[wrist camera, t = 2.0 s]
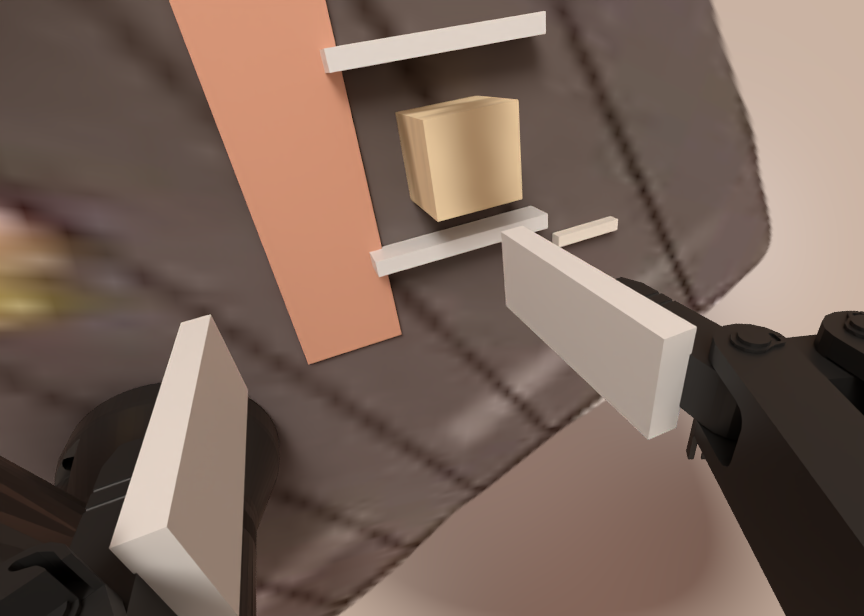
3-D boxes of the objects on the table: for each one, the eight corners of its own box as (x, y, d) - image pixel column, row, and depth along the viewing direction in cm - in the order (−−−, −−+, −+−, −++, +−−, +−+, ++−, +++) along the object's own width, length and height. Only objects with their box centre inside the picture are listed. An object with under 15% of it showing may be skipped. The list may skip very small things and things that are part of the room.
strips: (552, 243, 38) (558, 247, 37) (550, -41, 28) (559, -45, 27) (609, 226, 39) (617, 229, 39) (628, -53, 29) (639, -56, 28)
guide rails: (371, 264, 33) (379, 277, 31) (318, 50, 26) (323, 48, 24) (531, 219, 36) (547, 228, 34) (525, 15, 29) (545, 10, 27)
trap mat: (308, 361, 35) (308, 364, 35) (136, -87, 21) (134, -89, 21) (400, 332, 37) (401, 334, 37) (300, -102, 23) (301, -105, 22)
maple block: (410, 199, 32) (438, 221, 27) (395, 112, 29) (422, 120, 24) (483, 180, 33) (522, 198, 28) (476, 95, 30) (518, 99, 25)
